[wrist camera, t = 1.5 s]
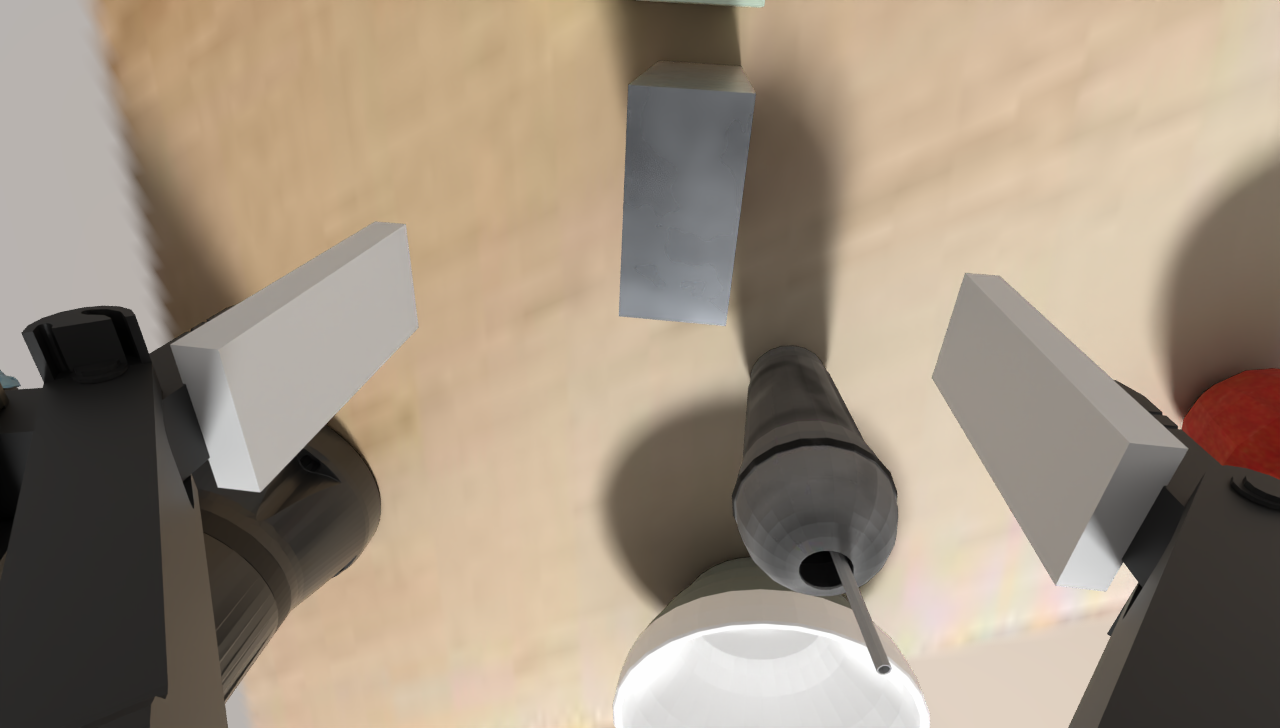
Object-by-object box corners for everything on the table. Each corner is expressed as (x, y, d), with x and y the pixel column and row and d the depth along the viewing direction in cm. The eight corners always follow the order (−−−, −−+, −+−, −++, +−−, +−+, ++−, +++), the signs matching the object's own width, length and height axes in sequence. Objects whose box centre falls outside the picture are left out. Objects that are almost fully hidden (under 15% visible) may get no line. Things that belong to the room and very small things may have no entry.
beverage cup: (715, 337, 38) (716, 609, 21) (841, 312, 37) (957, 583, 19) (739, 436, 41) (758, 745, 24) (856, 417, 40) (967, 732, 22)
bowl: (872, 485, 42) (911, 601, 34) (907, 677, 50) (945, 808, 42) (594, 532, 47) (568, 644, 38) (669, 701, 55) (661, 823, 47)
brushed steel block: (649, 220, 35) (618, 316, 24) (659, 60, 31) (628, 84, 20) (722, 227, 35) (725, 326, 24) (741, 65, 31) (756, 93, 20)
